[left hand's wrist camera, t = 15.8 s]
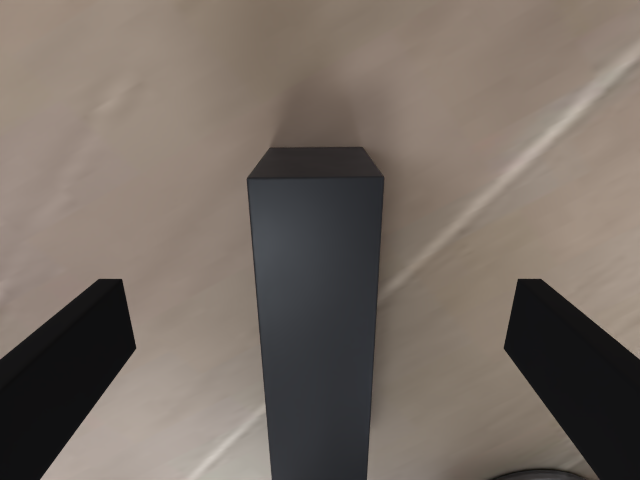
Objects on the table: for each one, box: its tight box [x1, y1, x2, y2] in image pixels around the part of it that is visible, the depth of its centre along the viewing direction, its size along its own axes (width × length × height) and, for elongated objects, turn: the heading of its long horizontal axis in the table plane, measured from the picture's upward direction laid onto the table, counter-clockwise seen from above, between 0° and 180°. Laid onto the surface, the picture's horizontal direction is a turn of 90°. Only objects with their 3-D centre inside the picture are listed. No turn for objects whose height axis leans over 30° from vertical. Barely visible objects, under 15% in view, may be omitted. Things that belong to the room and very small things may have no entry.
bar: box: [247, 147, 384, 480], centre depth 24 cm, size 25×6×8 cm, turn 0°
